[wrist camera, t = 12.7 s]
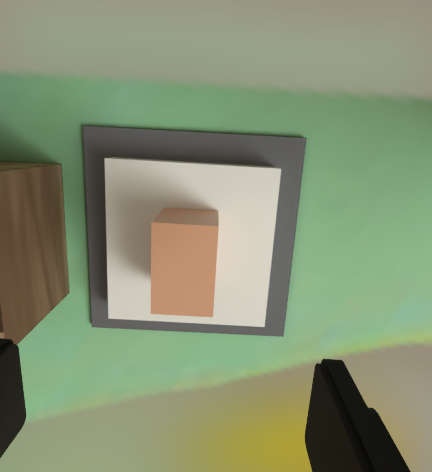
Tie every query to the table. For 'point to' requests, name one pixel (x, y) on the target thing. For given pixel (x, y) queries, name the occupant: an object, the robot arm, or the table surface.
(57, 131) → the table surface
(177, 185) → the lid
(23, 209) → the box
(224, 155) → the mat
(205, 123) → the table surface
